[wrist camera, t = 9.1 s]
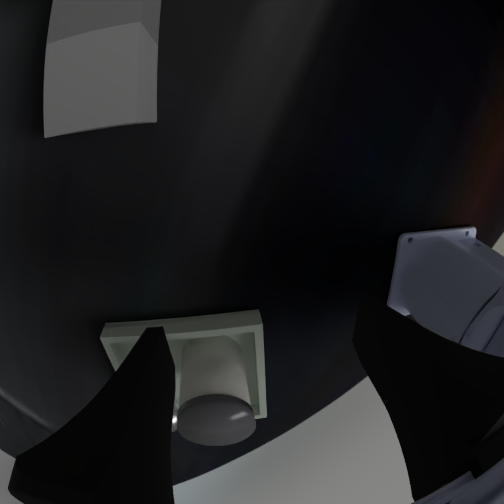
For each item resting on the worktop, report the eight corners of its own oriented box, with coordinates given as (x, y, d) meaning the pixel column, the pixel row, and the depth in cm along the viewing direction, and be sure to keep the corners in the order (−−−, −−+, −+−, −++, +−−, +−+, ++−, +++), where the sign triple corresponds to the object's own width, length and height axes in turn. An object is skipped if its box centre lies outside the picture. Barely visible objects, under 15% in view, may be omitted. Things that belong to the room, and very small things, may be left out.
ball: (181, 386, 24) (180, 418, 21) (189, 408, 25) (189, 438, 22) (144, 388, 24) (139, 418, 20) (154, 409, 25) (151, 438, 22)
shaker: (241, 329, 22) (255, 403, 16) (244, 373, 24) (256, 442, 18) (175, 334, 21) (168, 409, 15) (186, 377, 23) (185, 447, 17)
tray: (258, 308, 22) (262, 323, 20) (263, 403, 27) (266, 417, 26) (105, 322, 21) (99, 337, 19) (147, 412, 26) (145, 425, 24)
